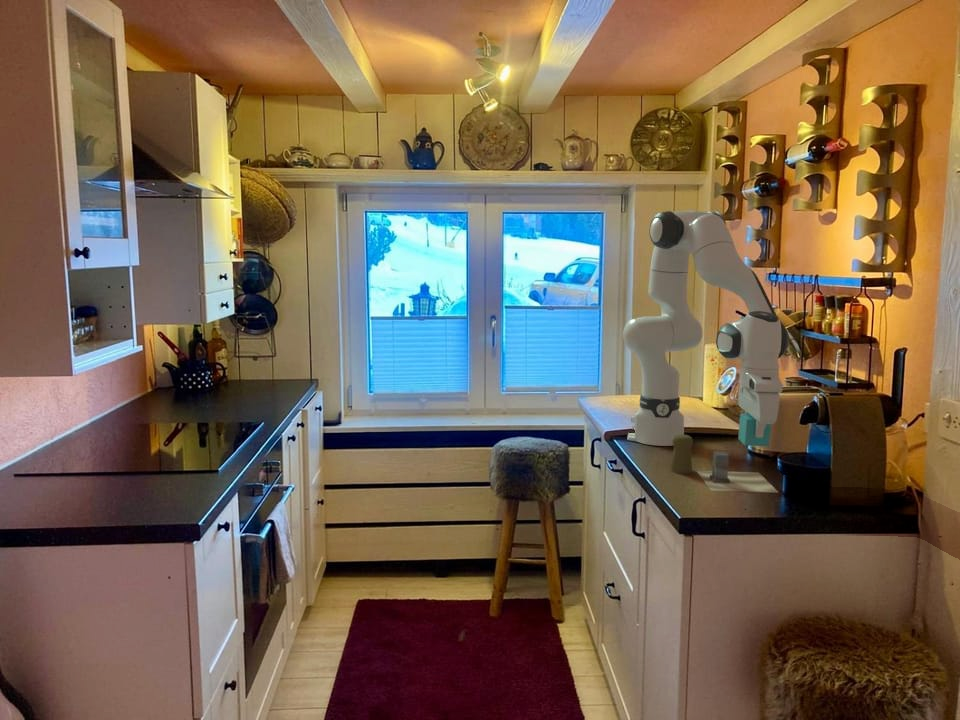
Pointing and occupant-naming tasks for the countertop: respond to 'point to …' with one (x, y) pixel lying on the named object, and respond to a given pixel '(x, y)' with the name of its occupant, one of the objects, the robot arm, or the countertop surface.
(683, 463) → the cork
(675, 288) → the robot arm
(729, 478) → the stand
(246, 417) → the countertop surface
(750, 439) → the teal rounded cube
